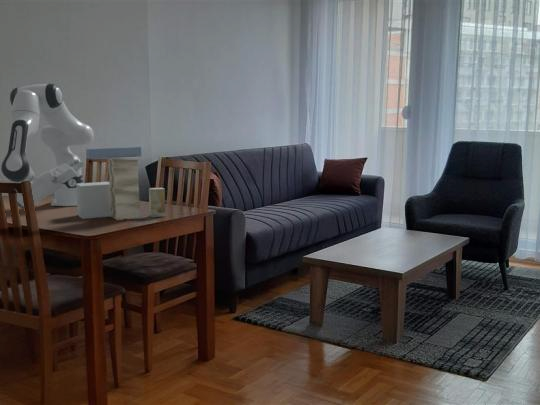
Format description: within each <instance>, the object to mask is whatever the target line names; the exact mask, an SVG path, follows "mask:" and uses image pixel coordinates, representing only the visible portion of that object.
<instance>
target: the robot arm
mask: <svg viewBox="0 0 540 405" xmlns="http://www.w3.org/2000/svg"><path fill="white" fill-rule="evenodd" d="M63 98H64V97H63V92H62V88H61V87H60V86H58V85H57V84H55V83H37V84H36V83H35V84H32V85H31V84H29V85H25V86H18V87H15V88H13V89H12V90H11V92H10V93H9V101H10V104H11V111H10V112H11V114H10V136H9V143H8V148H7V154H6V155H5V157H4V159H3V161H2V163H1V165H0V166H1V167H0V168H1V169H0V170H1V173H2V174H3V176H4V177H5V178H7V180H8V181H9V184H10V183H21V182H22V181H30V183H31V188H32V195H33V200H34V205H33V206H35V205H36V204H39V203H40V202H42V200H43V199H45V198H46V197H47V196H50V195H52V197H53V199H52V201H51V203H50V206H52V207H54V206H58V207H75V206H76V207H77V193H76V184H79V183H84V177H83V174H82V168H83V167H84V166H85V164H84V163H83V162H82V160H81V159H80V157H79V156H78V155H76V154H74V153H73V152H72V151H71V149H70V148H75V147H77V148H82V147H86V146H90V145H92V143H93V141H94V139H95V133H94V130H93V129H92V127H91V126H90V125H89V124H85V123H84V122H82V121H81V120H79V119H78V118H76V117H75V116H74V115H73V114H72V113H71V112H70V111H69V109H68V107H67V105H66V104H65V102H64V100H63ZM41 114H42V116H43V118H44V120H45V122H46V123H47V125H45V126H43V127H42V129H41V131H40V139H41V142H42V143H43V144H44V145H45V146H47V147H48V149H50V151H51V152H52V154H53V156H54V159H55V163H56V166H55V167H54V168H52V169H50V170H49V169H47V170H46V171H44V172H42V173H41V174H39V175H37V176H35V172H34V171H33V168H32V167H31V166H30V163H29V161H28V159H27V156H26V153H27V145H28V144H27V143H28V138H29V137H32V136H34V135H35V134H36V133H37V132H38V129H39V126H40V119H41V116H40V115H41ZM17 204H18V205H17ZM17 204H16V205H17V206H18V207H19V208H20V209H24V203H23V196H22V194H20V193H17Z"/></svg>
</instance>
